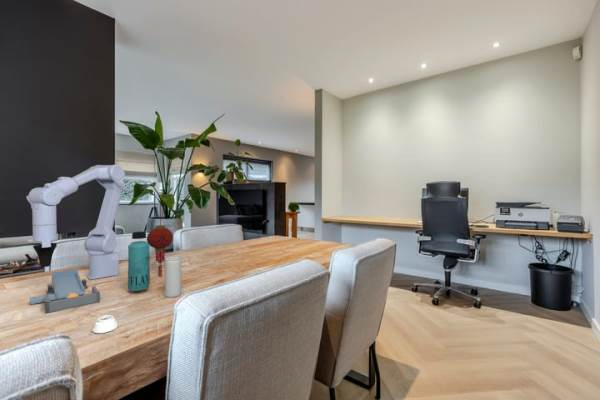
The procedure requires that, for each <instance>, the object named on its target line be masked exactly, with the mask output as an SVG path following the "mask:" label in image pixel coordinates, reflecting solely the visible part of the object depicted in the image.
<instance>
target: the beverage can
mask: <svg viewBox="0 0 600 400" xmlns="http://www.w3.org/2000/svg"><path fill="white" fill-rule="evenodd" d="M181 294H182V259H181V256H171V257H167V258H165V260H164V296H165V297H166V298H169V299H173V298H177V297H179V296H180V295H181Z"/></svg>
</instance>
